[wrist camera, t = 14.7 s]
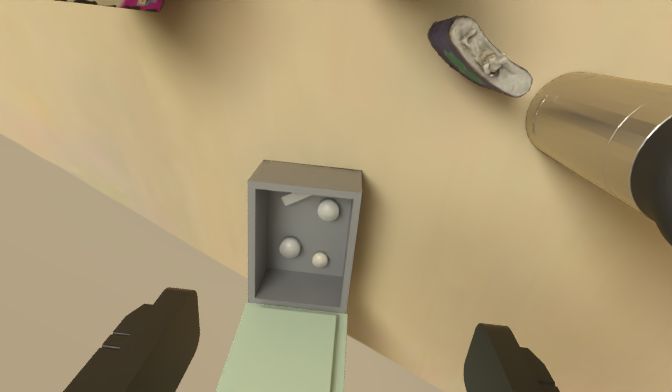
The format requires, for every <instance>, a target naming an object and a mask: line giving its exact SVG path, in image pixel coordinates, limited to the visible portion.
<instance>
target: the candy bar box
mask: <svg viewBox="0 0 672 392" xmlns="http://www.w3.org/2000/svg"><path fill="white" fill-rule="evenodd" d="M56 1H66V2H76V3H84V4H93V5H101V6H110V7H118V8H127V9H135V10H144V11H151V12H159V11H160V9H161V6H162V3H163V1H164V0H56Z"/></svg>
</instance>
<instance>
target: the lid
mask: <svg viewBox="0 0 672 392" xmlns="http://www.w3.org/2000/svg"><path fill="white" fill-rule="evenodd" d="M347 318H348V314H342V313H334V312H325V311H316V310H307V309H298V308H289V307H280V306H271V305H262V304H253V303H246V306H245V308H244V311H243V314H242V317H241V320H240V323H239V326H238V329H237V332H236V335H235V338H234V341H233V343H232V347H231V349H230V352H229V355H228V358H227V361H226V364H225V367H224V370H223V372H222V375H221V378H220V381H219V384H218V387H217V390H216V392H344V373H345V355H346V337H347Z"/></svg>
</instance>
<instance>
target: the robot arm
mask: <svg viewBox="0 0 672 392" xmlns="http://www.w3.org/2000/svg"><path fill="white" fill-rule="evenodd" d="M526 129H527V133H528V137H529V138H530V140H531V142H532V143H533V144H534V145H535V146H536V147H537V148H538V149H539V150H541V151H542V152H544V153H545V154H547V155H549V156H550V157H552V158H553V159H555V160H556V161H558V162H559V163H561V164H563V165H564V166H566V167H567V168H569V169H571V170H572V171H574V172H576V173H577V174H579V175H580V176H582V177H584V178H585V179H587V180H588V181H590V182H592V183H593V184H595V185H596V186H598V187H600V188H601V189H603V190H605V191H606V192H608V193H609V194H611V195H613V196H614V197H616V198H617V199H619V200H621V201H623V202H624V203H626V204H627V205H629V206H631V207H632V208H634V209H636V210H637V211H639V212H640V213H642V214H644V215H645V216H647V217H649V218H650V219H652V220H653V221H655V222H656V224H657V226H658V228H659V230H660V232H661V233H662V235H663V236H664V238H665V239H666V240H667V241H668V243H669V244H670V245H671V246H672V86H670V85H663V84H657V83H650V82H644V81H637V80H631V79H624V78H618V77H612V76H606V75H599V74H593V73H585V72H575V73H569V74H566V75H562V76H560V77H558V78H556V79H554V80H552V81H551V82H550V83H548V84H547V85H546V86H544V87H543V88H542V89H541V90H540V91H539V93H538V94H537V95H536V96H535V98H534V99H533V101H532V102H531V105H530V107H529V110H528V113H527V118H526ZM199 336H200V327H199V313H198V299H197V293H196V291H195V290H188V289H179V288H170V287H169V288H166V289H165V290H164V291H163V292H162V294H161V295H160V297H159V298H158V299H157V300H156V302H155V303H154V304H153V305H149V304H143V305H142V306H140V307H139V308H137V309H136V310H134V311H133V312H131V313H130V314H129V315H127V316H126V317H125V318H124V319H123V320H122V322H121V323H120V324H119V325H118V326H117V328H116V329H115V330H114V331H113V334H112V335H110V336H109V337H108V338H107V340H106V341H105V342H104V343H103V345H102V348H99V349H98V351H97V352H96V353H95V354H94V355H93V356H92V358H91V359H90V360H89V361H88V363H87V364H86V365H85V366H84V367H83V368H82V370H81V371H80V372H79V373H78V374H77V376H76V377H75V378H74V379H73V380H72V382H71V383H70V384H69V385H68V386H67V388H66V389H65V390H64V391H63V392H175V391H176V389H177V387H178V385H179V383H180V381H181V379H182V378H183V375H184V374H185V372H186V370H187V368H188V366H189V364H190V362H191V360H192V358H193V356H194V354H195V352H196V349H197V346H198V342H199ZM464 382H465V387H466V390H467V392H560V391H559V389H558V387H555V382H554V380H553V379H552V377H551V375H550V373H549V372H548V370H547V368H546V366H545V365H544V364H543V363H542V362H541V361H540V360H539V359H538V358H537V357H536V356H535V355H534V354H533V353H532V352H531V351H530V350H529V349H528V348H522V347H520V346H519V344H518V343H517V341H516V339H515V337H514V335H513V333H512V331H511V330H510V328H509V327H507V326H501V325H492V324H483V323H479V324H478V325H477V327H476V329H475V332H474V335H473V338H472V341H471V344H470V347H469V350H468V354H467V357H466V360H465V364H464Z"/></svg>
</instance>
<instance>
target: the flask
mask: <svg viewBox="0 0 672 392" xmlns="http://www.w3.org/2000/svg"><path fill="white" fill-rule="evenodd" d="M428 39H429V41H430V42H431V45H432V47H433V48H434V49H435V50H436V51H437V53H438V55H439V56H441V57H442V59H443V60H444V61H445V62H447V63H448V64H449V65H450V66H451V67H452V68H454V69H456V70H457V71H458V72H460V73H461V74H462V75H463V76H465V77H467V78H468V79H469V80H471V81H473V82H474V83H476V84H478V85H480V86H483V87H487V88H489V89H493V90H495V91H498V92H500V93H503V94H505V95H508V96H511V97H516V98H517V97H521V96H523V95H524V94H526V93H527V92H528V91H529V90H530V88H531V85H532V80H533V79H532V77H531V75H530V74H529V73H528V71H527V70H525V69H524V68H522V67H520V66H518V65H516V64H515V63H513V62H511V61H510V60H509V59H508V58H507V56H506V53H505V52H503V53H501V52H500V51H499V50H498V49H497V48H496V47H495V46H494V45H493V44H492V43H491V42H490V41H489V40H488V39H487V38H486V36H485V35H484V34H483V32H482V30H481V29H480V27H479V25H478V24H477V23H476V21H475V20H474V19H472V18H470V17H467V16H455V17H453V18H449V19H446V20H443V21H440V22H435V23H434V24H433V25H432V26H431V28H430V29H429V32H428Z"/></svg>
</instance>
